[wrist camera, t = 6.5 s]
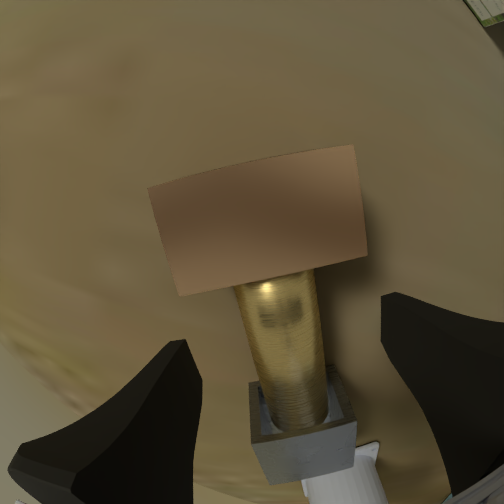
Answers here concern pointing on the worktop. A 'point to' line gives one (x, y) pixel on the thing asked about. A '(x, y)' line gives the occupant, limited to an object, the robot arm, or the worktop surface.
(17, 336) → the worktop surface
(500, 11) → the syrup box
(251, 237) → the brown rectangular block
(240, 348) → the worktop surface
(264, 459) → the sleeve
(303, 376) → the tube
